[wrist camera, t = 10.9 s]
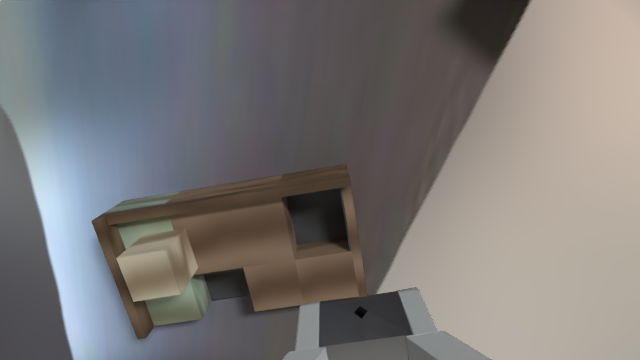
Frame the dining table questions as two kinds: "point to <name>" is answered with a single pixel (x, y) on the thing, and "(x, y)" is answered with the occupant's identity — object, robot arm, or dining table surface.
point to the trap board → (246, 243)
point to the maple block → (158, 265)
